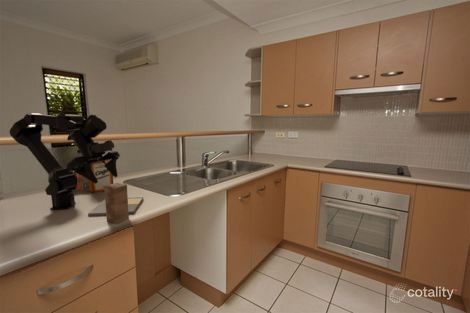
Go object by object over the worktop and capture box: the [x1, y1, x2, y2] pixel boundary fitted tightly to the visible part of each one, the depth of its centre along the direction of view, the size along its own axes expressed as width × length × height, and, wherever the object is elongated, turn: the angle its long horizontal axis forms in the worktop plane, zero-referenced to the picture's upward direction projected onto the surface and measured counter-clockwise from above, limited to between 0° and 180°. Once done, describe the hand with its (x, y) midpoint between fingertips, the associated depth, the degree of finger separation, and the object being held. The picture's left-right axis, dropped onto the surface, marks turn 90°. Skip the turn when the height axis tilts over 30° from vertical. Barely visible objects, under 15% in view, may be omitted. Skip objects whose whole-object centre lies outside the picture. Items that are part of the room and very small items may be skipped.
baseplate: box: [87, 197, 144, 217], centre depth 93 cm, size 16×16×1 cm
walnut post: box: [104, 182, 130, 225], centre depth 80 cm, size 5×5×13 cm
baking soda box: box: [88, 159, 114, 194], centre depth 113 cm, size 10×6×16 cm
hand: (107, 179), depth 84 cm, fingers open, 9 cm apart
